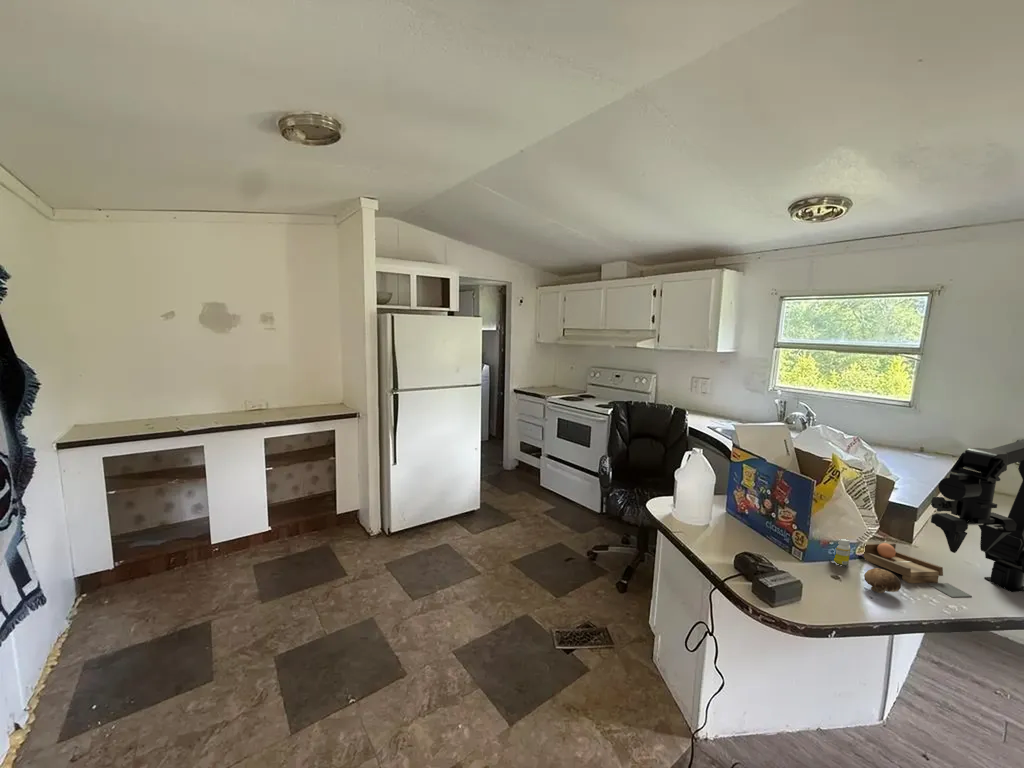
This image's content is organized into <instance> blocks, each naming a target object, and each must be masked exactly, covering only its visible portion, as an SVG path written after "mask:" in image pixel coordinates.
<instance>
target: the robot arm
mask: <svg viewBox="0 0 1024 768" xmlns="http://www.w3.org/2000/svg"><path fill="white" fill-rule="evenodd" d="M1016 463H1018V464H1019V465H1018V468H1017V469H1018V470H1017V471H1018V472H1019V475H1020V477H1021V479H1022V481H1021V484H1020V486H1019V488H1018V491H1017V494H1016V497H1014V498H1015V499H1014V501H1013V503H1012V505H1011V508H1010V511H1009V513H1008V515H1007V516H1004V515H1003V514H999V513H996V512H992V509H997V508H998V504H997V503H994V497H995V489H996V485H997V482H1001V478H1000V476H1001V475H1002V473H1004V472H1006V471H1007V470H1008V466H1010V465H1013V464H1016ZM937 487H938V490H939V492H940V494H941V495H942V496H932V499H931V500H930V501H931V502H930V505H931V507H932V508H933V509H936V513H934V514H932V515H931V518H930V523H931V524H933V525H934V526H935V527H938V528H940V530H941V531H942V532H943V533H944V536H945V538H946V543H947V545H948V549H949V551H950V552H952V553H954V554H956V553H957V552H958V550H959V549H960V547H961V545H962V543H963V542H964V540H965V538H966V537H967V535H968V532H966V531H967V530H968V528H969V526H978V528H979V529H980V543H979V545H980V547H979V548H980V551H981V552H983V553H984V555H985V556H984V558H985V559H987V560H991V561H993V565H992V568H991V572H990V573H991V574H990V576H985V577H983V579H984V580H986V581H988V582H990V583H992V584H993V583H994V585H995V584H996V585H995V586H998V587H1000V588H1002V589H1004V590H1006V591H1007V592H1010V591H1011V592H1013V593H1014V592H1015V593H1017V592H1019V591H1022V592H1024V438H1022V439H1020V438H1019V439H1017V440H1016V441H1014V442H1010V443H1008V444H1004V445H1000V446H997V447H993V448H983V447H982V448H981V447H969V448H967V449H965V450H964V451H963V452H962V453H961V454H960V456H959V457H958V459H957V460H956V462H955V463H954V465H953V466H952V468H951V469H950V473H949V477H944V478H943V479H942V480H940V481H939V483H938V486H937ZM944 497H945V498H946V499H945V498H944ZM938 512H939V513H938ZM940 512H941V513H940ZM942 512H945V513H942ZM946 512H950V513H946ZM957 516H958V517H957ZM1011 592H1010V593H1011Z"/></svg>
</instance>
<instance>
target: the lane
mask: <svg viewBox="0 0 1024 768" xmlns="http://www.w3.org/2000/svg"><path fill="white" fill-rule="evenodd" d="M865 542H866V546H865V552H864V558H865V559H866V560H865V559H864V560H865V561H866V562H868V563H871V564H874V565H876V566H879V567H881V568H883V569H885V570H888V571H890V572H891V571H892V572H894V573H897V574H900V575H901V577H902V578H901V579H902V580H903V581H904V582H906V583H908V584H926V583H927V584H931V583H939V577H942V576H943V577H944V571H943V570H944V568H943V566H940V565H937V564H934V563H931V562H927V561H926V560H922V559H919V558H916V557H913V556H911V555H907V554H904V553H902V552H898V551H896V554H895V556H894V557H893V558H884V557H882V556H881V555H880V554H879V553H878V551H877V547H878V545H879V544H882V543H887V544H890V545H891V546H893V547H894V549H895V550H896V547H897V544H896V543H895V542H893V541H871V542H869V541H868V542H867V541H865Z"/></svg>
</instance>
